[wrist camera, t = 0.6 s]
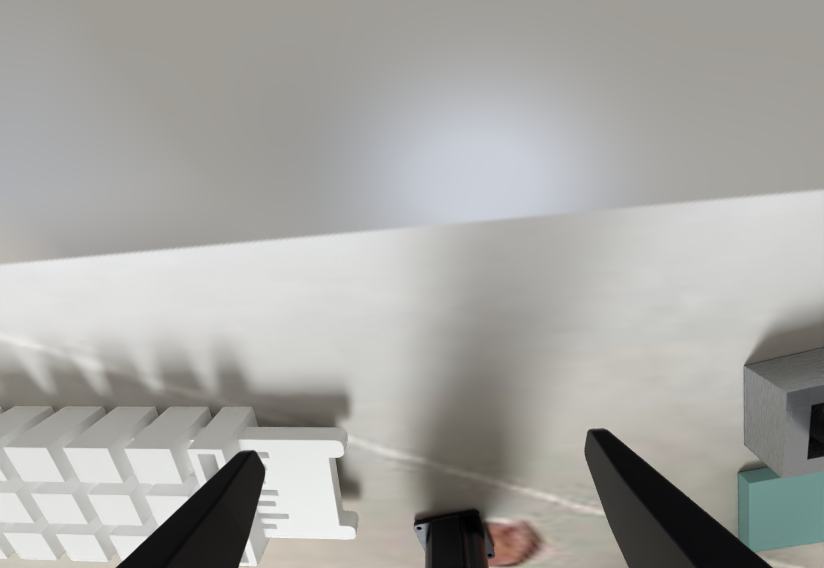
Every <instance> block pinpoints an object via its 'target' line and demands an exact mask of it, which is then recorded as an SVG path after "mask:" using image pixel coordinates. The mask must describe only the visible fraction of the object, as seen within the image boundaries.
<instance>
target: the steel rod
mask: <svg viewBox="0 0 824 568" xmlns="http://www.w3.org/2000/svg"><path fill="white" fill-rule="evenodd" d="M809 434H810V435H811V436H813V437H814V438H816V439H817V440H819V441H820V442H821V443H823V444H824V403H819V404H814V405H811V417H810V429H809Z"/></svg>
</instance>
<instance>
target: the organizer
mask: <svg viewBox="0 0 824 568" xmlns="http://www.w3.org/2000/svg"><path fill="white" fill-rule="evenodd" d="M347 441H348V435H347V431H346V430H345V429H343V428H340V427H258V424H257V421H256V417H255V413H254V409H253V407H223V408H222V409H221V410H220V411H219V412H218V414H217V415H216V416H215V417H214V418H213V419H212V416H211V413H210V410H209V407H169V408H168V409H167V410H165V411H164V412H163V413H162V414H161V415H160V416H159V415H158V413H157V410H156V407H149V406H117V407H116V408H114V409H113V410H112V411H110V412H109V413H108V414H106V412H105V410H104V408H103V406H65V407H64V408H62V409H60V410H59V411H57V412H56V413H55V412H54V410H53V408H52V406H14V407H12V408H11V409H9V410H7V411H5V412H4V410H3V408H2V407H1V406H0V558H3V559H8V558H9V557H10V556H11V555H12V554H13V553H14V552H15V551H16V552H17V554H18V555H19V557H20V558H21V559H36V560H58V559H59V558H60V557H61V556H62V555H63V554H64V553H65V552H67V554H68V556H69V557H70V559H71V561H101V562H109V561H110V560H111V558H112V557H113V556H114V555H115V553H116V552H118V554H119V556H120V558H121V560H122V561H123V560H124V559H126V558H127V557H128V556H129V555H130V554H131V553H132V552H133V551H134V550H135V549H136V548H137V547H138V546H139V545H140V544H141V543H142V542H144V541H145V540H146V539H147V538H148V537H149V536H150V535H151V534H152V533H153V532H154V531H155V530H156V529H157V528H158V527H159V526H161V525H162V524H163V523H164V522H165V521H166V520H167V519H168V518H169V517H170V516H171V515H172V514H173V513H174V512H175V511H176V510H177V509H179V508H180V507H181V506H182V505H183V504H184V503H185V502H186V501H187V500H188V499H189V498H190V497H191V496H192V495H193V494H194V493H195V492H197V491H198V490H199V489H200V488H201V487H202V486H203V485H204V484H205V483H206V482H207V481H208V480H209V479H210V478H211V477H212V476H214V475H215V474H216V473H217V472H218V471H219V470H220V469H221V468H222V467H223V466H224V465H225V464H226V463H227V462H228V461H229V460H230V459H232V458H233V457H234V456H235V455H236V454H237V453H238V452H240V451H243V450H255V451H256V452H257V453H258V455H259V457H260V459H261V461H262V463H263V465H264V467H265V479H264V483H263V486H262V490H261V494H260V498H259V501H258V505H257V509H256V513H255V517H254V520H253V524H252V528H251V531H250V535H249V538H248V541H247V544H246V547H245V550H244V553H243V556H242V559H241V561H240V564H239V566H258V564H259V562H260V560H261V557H262V555H263V553H264V550H265V548H266V546H267V543H268V541H269V539H270V537H271V538H311V539H354V538H355V537H356V532H357V527H358V522H359V518H358V514H357V513H356V512H354V511H343V505H342V499H341V492H340V486H339V479H338V473H337V467H336V460H335V458H339V457H342V456H343V455H344V451H345V448H346V445H347Z"/></svg>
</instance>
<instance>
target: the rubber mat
mask: <svg viewBox="0 0 824 568" xmlns="http://www.w3.org/2000/svg"><path fill="white" fill-rule="evenodd" d="M738 498H739V540H740V541H741V542H743V543H744V544H745V545H746V546H747V547H749V548H750V549H751V550H752V551H753V552H758V551H765V550H772V549H778V548H785V547H792V546H799V545H805V544H812V543H819V542H824V472H818V473H813V474H807V475H802V476H796V477H790V478H785V479H782V478H781V477H780V476H779V475H778V474H777V473H775V472H774V471H773V470H772V469H771V468H770V467H766V468H761V469H755V470H750V471H744V472H739V473H738Z"/></svg>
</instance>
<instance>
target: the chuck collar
mask: <svg viewBox="0 0 824 568" xmlns="http://www.w3.org/2000/svg"><path fill="white" fill-rule="evenodd" d="M819 403H824V348H820V349H816V350H812V351H807V352H803V353H799V354H794V355H790V356H786V357H781V358H777V359H772V360H768V361H764V362H759V363H755V364H751V365H746V366H744V445H745V446H746V447H747V448H748V449H749V450H750V451H751V452H753V453H754V454H755V455H756V456H757V457H758V458H759V459H761V460H762V461H763V462H764V463H765V464H766V465H767V466H769V467H770V468H771V469H772V470H773V471H774V472H775V473H777V474H778V475H779V476H780V477H781V478H782V479H785V478H790V477H796V476H802V475H807V474H813V473H818V472H824V444H823V443H821V442H820V441H819V440H817V439H816V438H814V437H813V436H811V435H810V434H809V429H810V417H811V405H814V404H819Z"/></svg>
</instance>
